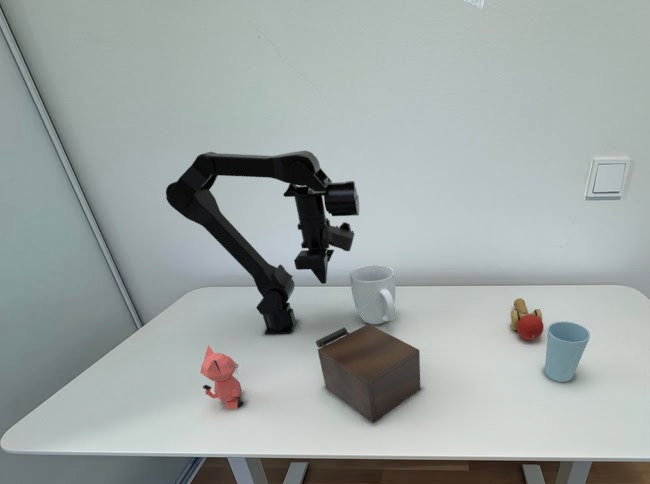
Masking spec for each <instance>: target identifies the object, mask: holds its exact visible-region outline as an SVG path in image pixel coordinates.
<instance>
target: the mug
mask: <svg viewBox="0 0 650 484" xmlns="http://www.w3.org/2000/svg"><path fill="white" fill-rule="evenodd" d="M395 279H396V277H395V271H394V269H393V268H392V267H390V266H388V265H386V264H378V263H377V264H375V263H372V264H364V265H361V266H357V267H355V268H354V269H351V271H350V272H349V280H350V281H349V282H350V288H351V294H352V299H353V303H354V305H355V306H354V307H355V308H356V312H357V313H358V315H359V317H360V319H362V320H363V321H364V322H365V323H366V324H370V325H381V324H385V323H386V322H391V321H394V320H395V318H396V307H395V304H396V280H395Z"/></svg>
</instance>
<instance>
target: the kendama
mask: <svg viewBox="0 0 650 484" xmlns="http://www.w3.org/2000/svg"><path fill="white" fill-rule="evenodd" d="M513 307H514V308H515V310H511V312H510V321H511V327H512V330H513V331H517V333H518V335H519V336H520V337H521V338H522V339H524V340H527V341H534V340H537V339H538V338H539V337H540V336H542V334H543V332H544V327H545V326H544V323H543V322H544V321H543V313H542V310H541V309H540V308H535V309H534V310H533V311H532V312H529V311H528V308H527V305H526V302H525V300H524V299H523V298H520V297H518V298H515V300H514V301H513Z"/></svg>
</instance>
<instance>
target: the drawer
mask: <svg viewBox="0 0 650 484" xmlns="http://www.w3.org/2000/svg"><path fill="white" fill-rule="evenodd" d="M349 333H350V332H349V331H348V329H347V328H346V327H342V328H339V329H338V330H336V331H333V332H332V333H329V334H327V335H325V336H323V337H321V338H319V339H317V340H315V345H316V346H317V347H318V349H319V348H321V347H323V346H325V345H327V344H329V343H331V342H333V341H335V340H337V339H339V338H341V337H343V336H345V335H347V334H349ZM317 354H318V355H319V352H318V351H317ZM318 357H319V356H318ZM319 359H320V357H319ZM319 363H320V364H321V362H320V361H319ZM320 367H321V366H320ZM321 369H322V367H321ZM321 373H322V374H323V372H322V371H321ZM322 376H323V375H322ZM323 378H324V376H323Z"/></svg>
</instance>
